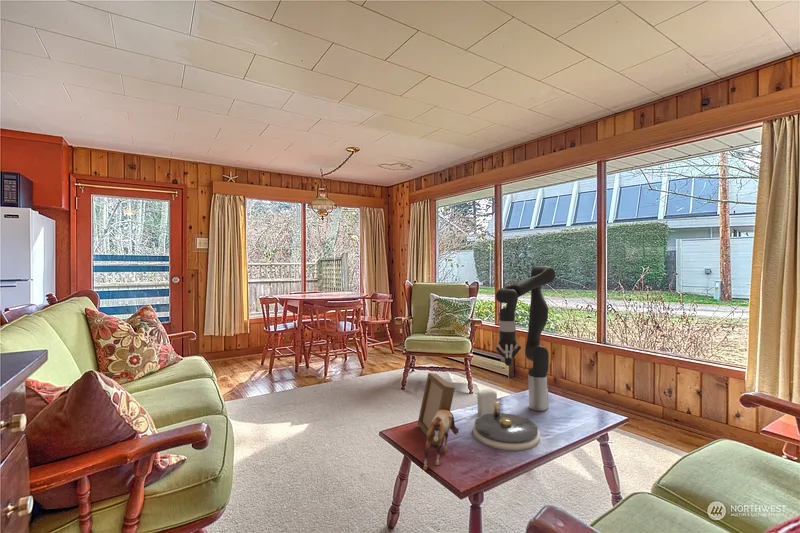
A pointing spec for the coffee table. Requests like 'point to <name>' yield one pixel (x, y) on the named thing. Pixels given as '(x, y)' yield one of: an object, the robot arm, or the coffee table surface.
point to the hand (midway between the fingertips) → (508, 365)
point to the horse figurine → (439, 432)
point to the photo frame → (434, 401)
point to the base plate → (506, 445)
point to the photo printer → (486, 401)
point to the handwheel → (505, 427)
